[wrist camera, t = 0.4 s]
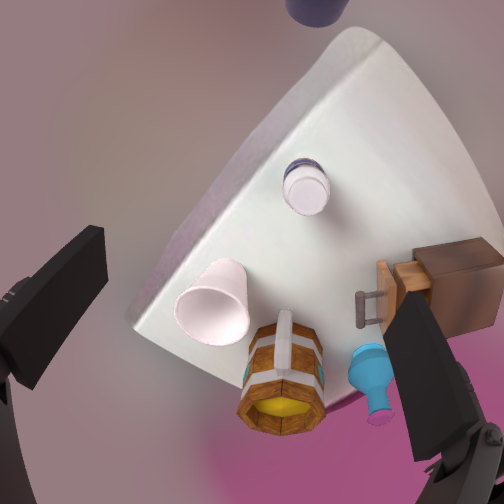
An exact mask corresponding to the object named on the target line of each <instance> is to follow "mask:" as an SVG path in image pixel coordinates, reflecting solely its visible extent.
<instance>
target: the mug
mask: <svg viewBox="0 0 504 504" xmlns="http://www.w3.org/2000/svg"><path fill="white" fill-rule="evenodd" d="M292 319H293V311H292V310H291V309H287V308H285V309H280V311H279V312H278V320H277V323H276V324H273V325H269V326H266V327H262V328H259V329H258V331H257V333H256V335H255V337H254V339H253V341H252V343H251V344H250V346H249V359H248V365H247V368H246V371H245V374H244V377H243V391H242V396H241V401H240V404H239V407H238V410H237V413H236V414H237V415H238V416H239V417H240V418H241V419H242V420H243V421H244V422H245V423H246V424H247V425H248V426H249V427H250V428H251V429H253V430H257V431H261V432H265V433H269V434H274V435H278V436H284V435H291V434H297V433H303V432H308V431H311V430H312V429H313V428H314V427H315V426H317V425H318V424H319V423H320V422H321V421H322V420H323V419H324V418H325V417H326V413H325V407H324V395H323V391H324V375H323V369H322V350H323V348H322V346H321V344H320V342H319V340H318V338H317V335H316V333H315V331H314V329H311V328H308V327H305V326H302V325H298V324H295V323H292Z"/></svg>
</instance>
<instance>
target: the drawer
mask: <svg viewBox="0 0 504 504" xmlns="http://www.w3.org/2000/svg"><path fill="white" fill-rule="evenodd" d="M430 286H431V281H430V279H429V278H428V276H427V274H426V273H425V271H424V270H423V268H422V267H421V265H420V264H419V262H418V261H412V262H406V263H399V264H394V274H393V276H392V274H391V272H390V270H389V268H388V266H387V265H386V263H385V261H384V260H382V261H377V291H376V292H370V293H364V292H362V291H358V292H356V294H355V304H356V327H357V328H358V329H362V328H364V327H365V325H371V324H377V323H379V325H380V328H381V332H382V335H384V333H385V331H386V330H387V328H388V326H389V325H390V323H391V321H392V319H393V318H394V316H395V314H396V312H397V311H398V309H399V307H400V305H401V304H402V302H403V300H404V298H405V296H406V294H407V292H408V291H413V292H418V293H422V294H423V296H424V298H425V300H426V302H427V303H428V302H429V294H430ZM374 297H377V318H375V319H369V320H365V299H368V298H374Z"/></svg>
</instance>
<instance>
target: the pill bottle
mask: <svg viewBox="0 0 504 504" xmlns="http://www.w3.org/2000/svg"><path fill="white" fill-rule="evenodd" d="M283 196H284V199H285V201H286V202H287V204H288V205H289V206H290V207H291V208H292V209H294V210H295V211H296V212H297V213H299V214H301V215H304V216H312V215H315V214H317V213H319V212H320V211H321V210H322V209H323V208H324V207H325V205H326V203H327V201H328V199H329V197H330V184H329V181H328V179H327V177H326V175H325V173H324V171H323V169H322V167H321V166H320V165H319V164H318V163H317V162H316V161H314V160H312V159H309V158H299V159H296V160H294V161H293V162H291V163H290V164H289V165H288V167H287V168H286V171H285V174H284V181H283Z"/></svg>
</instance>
